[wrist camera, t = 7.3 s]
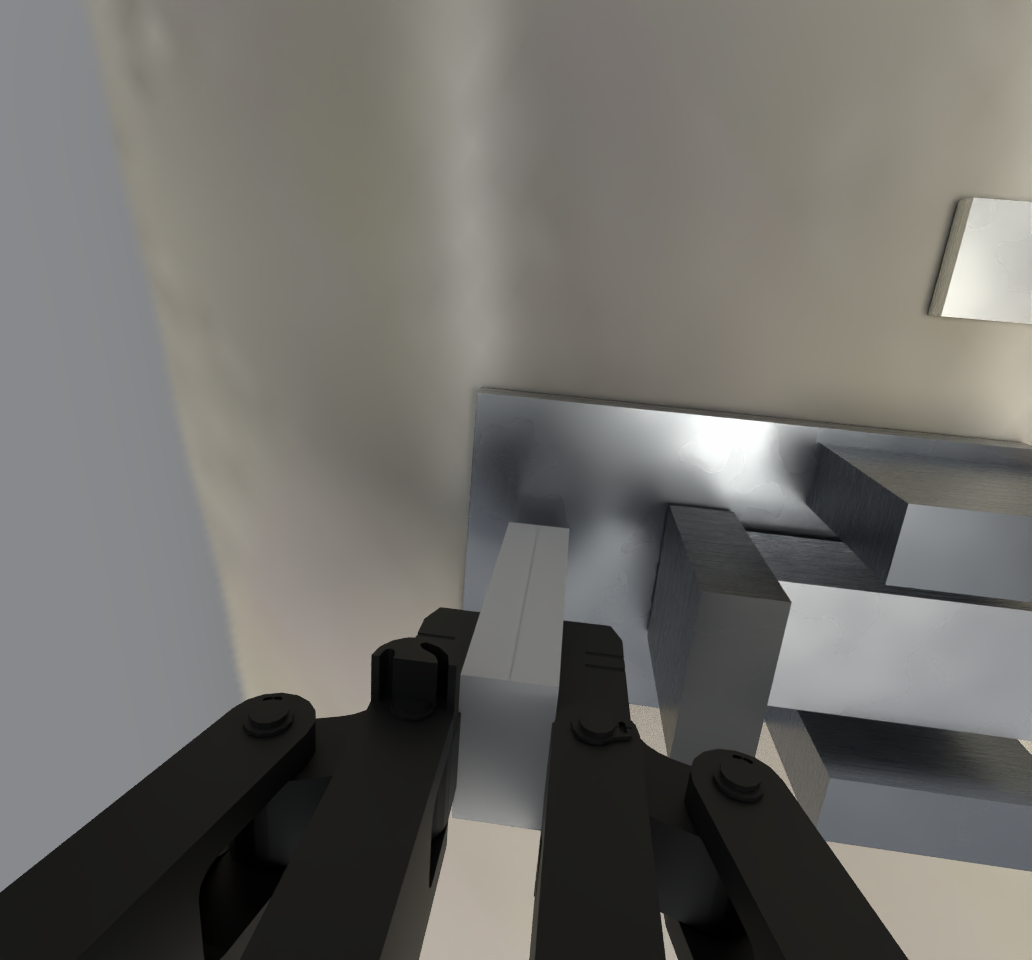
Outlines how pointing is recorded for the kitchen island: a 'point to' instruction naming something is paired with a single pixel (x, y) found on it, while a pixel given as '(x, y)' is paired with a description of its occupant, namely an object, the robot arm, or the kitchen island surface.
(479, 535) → the gauge housing
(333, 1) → the kitchen island surface
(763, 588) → the gauge slider with pointer
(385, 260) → the kitchen island surface
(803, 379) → the kitchen island surface
